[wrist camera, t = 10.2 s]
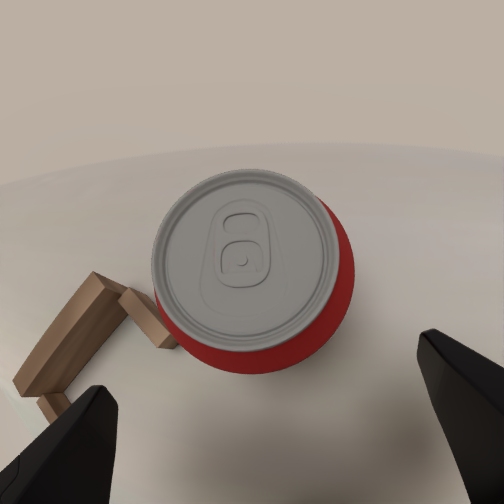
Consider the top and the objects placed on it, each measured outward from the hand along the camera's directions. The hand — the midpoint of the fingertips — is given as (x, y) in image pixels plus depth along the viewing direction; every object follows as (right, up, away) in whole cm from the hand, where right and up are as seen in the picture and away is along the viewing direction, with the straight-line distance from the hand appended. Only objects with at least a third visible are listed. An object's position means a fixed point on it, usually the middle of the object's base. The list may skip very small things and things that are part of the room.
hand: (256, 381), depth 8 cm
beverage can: (+1, -1, +12) cm, 12 cm away
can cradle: (-11, -5, +12) cm, 17 cm away
